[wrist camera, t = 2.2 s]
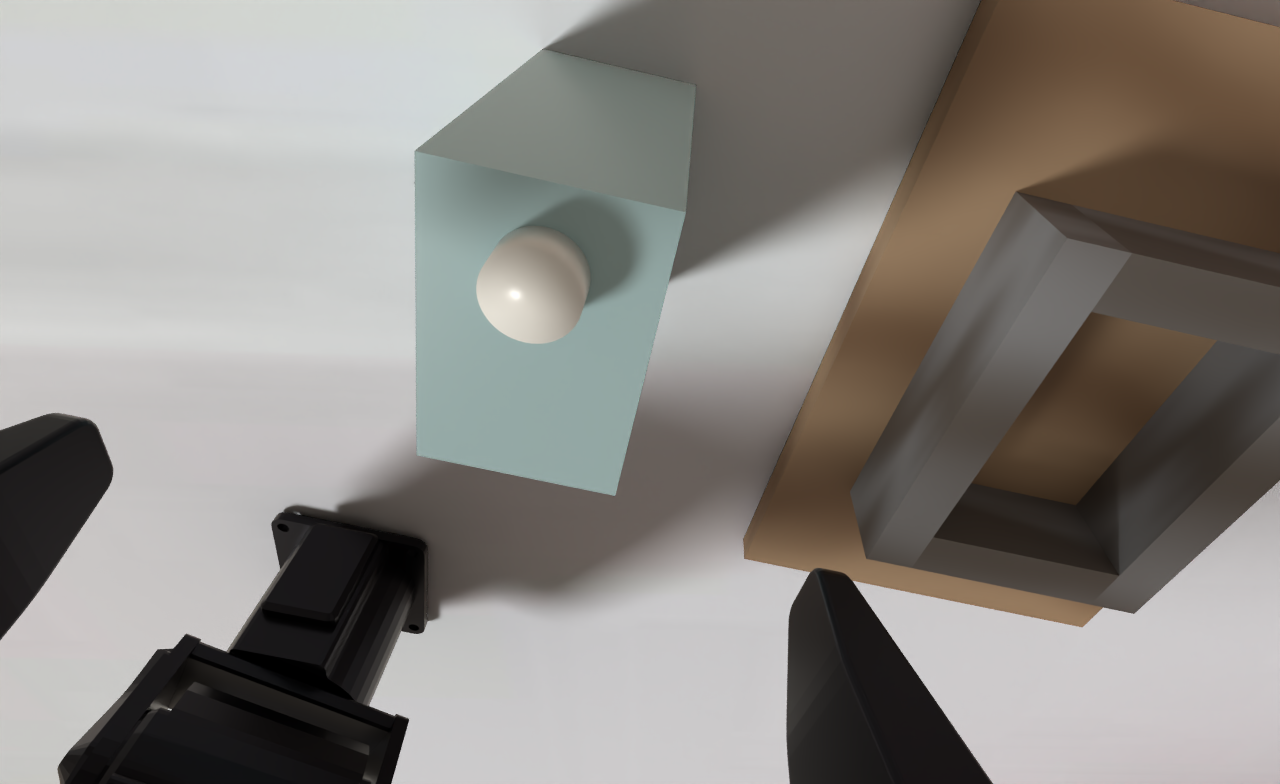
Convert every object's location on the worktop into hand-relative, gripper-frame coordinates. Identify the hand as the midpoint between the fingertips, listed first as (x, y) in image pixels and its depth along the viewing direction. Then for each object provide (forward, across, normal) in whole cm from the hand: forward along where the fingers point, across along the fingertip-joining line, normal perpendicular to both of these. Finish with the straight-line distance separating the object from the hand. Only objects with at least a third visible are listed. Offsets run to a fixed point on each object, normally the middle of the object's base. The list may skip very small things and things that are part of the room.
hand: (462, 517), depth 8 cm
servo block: (+13, 0, 0) cm, 13 cm away
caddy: (+13, -15, +3) cm, 20 cm away
